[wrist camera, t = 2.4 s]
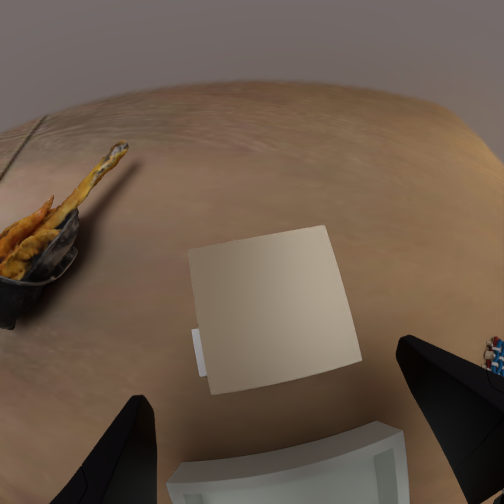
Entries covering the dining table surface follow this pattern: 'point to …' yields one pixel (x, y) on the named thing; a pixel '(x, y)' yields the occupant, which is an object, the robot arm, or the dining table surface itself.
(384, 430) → the box
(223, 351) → the plate
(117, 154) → the fried shrimp in bowl
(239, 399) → the dining table surface
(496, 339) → the woven mat
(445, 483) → the dining table surface
